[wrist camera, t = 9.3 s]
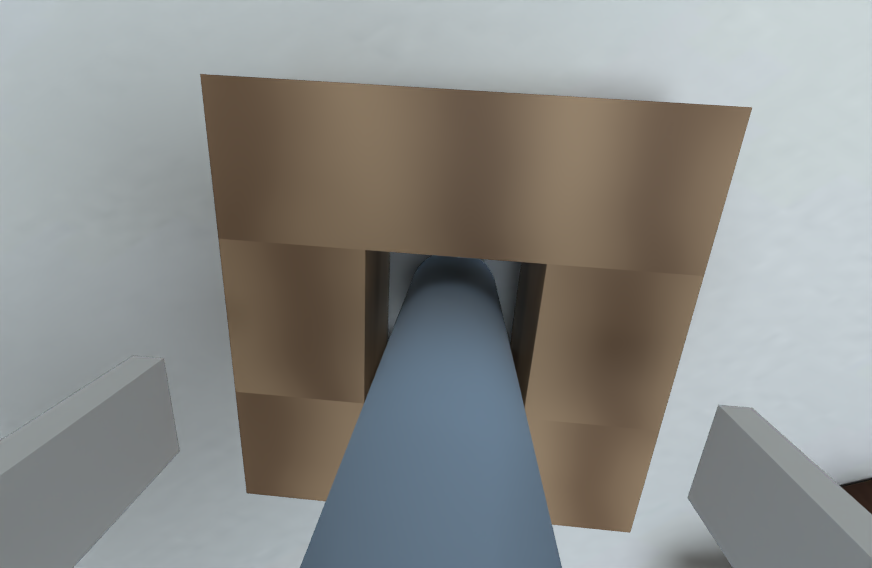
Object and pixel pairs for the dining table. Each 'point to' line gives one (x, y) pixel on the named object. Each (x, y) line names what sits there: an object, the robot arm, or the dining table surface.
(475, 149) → the socket block
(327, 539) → the peg
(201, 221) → the dining table surface
